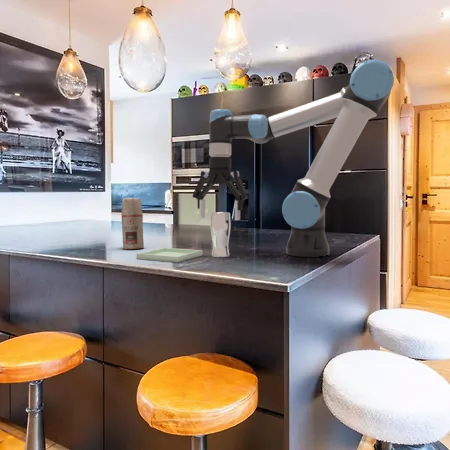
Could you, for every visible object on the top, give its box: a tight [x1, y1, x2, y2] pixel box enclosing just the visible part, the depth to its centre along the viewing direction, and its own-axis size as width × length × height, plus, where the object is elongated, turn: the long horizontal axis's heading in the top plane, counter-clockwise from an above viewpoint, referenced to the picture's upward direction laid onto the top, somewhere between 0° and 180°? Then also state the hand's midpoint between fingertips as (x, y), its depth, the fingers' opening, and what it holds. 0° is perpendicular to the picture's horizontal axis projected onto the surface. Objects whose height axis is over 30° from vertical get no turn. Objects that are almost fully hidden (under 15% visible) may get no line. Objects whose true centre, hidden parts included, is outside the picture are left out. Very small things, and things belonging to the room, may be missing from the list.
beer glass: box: [209, 211, 232, 258], centre depth 141 cm, size 7×7×15 cm
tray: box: [136, 247, 204, 264], centre depth 139 cm, size 16×16×2 cm
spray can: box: [121, 197, 145, 250], centre depth 159 cm, size 8×8×20 cm
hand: (219, 219), depth 140 cm, fingers open, 13 cm apart
